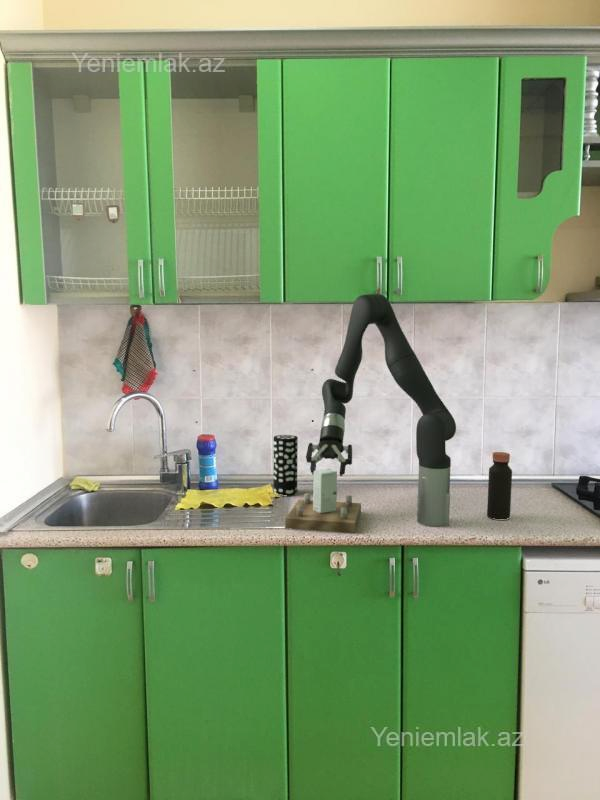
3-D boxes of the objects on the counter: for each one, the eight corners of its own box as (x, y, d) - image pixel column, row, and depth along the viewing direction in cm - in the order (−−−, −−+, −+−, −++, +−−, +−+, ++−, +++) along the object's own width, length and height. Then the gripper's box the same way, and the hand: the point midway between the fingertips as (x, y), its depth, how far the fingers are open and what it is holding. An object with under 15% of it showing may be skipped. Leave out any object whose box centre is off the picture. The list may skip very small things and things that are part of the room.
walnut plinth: (360, 512, 193) (361, 493, 193) (354, 533, 174) (354, 512, 173) (298, 508, 197) (298, 490, 196) (285, 528, 178) (285, 508, 177)
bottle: (488, 512, 194) (491, 450, 192) (511, 515, 191) (514, 452, 189) (485, 518, 188) (487, 454, 186) (508, 521, 185) (511, 456, 183)
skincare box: (320, 513, 182) (321, 473, 180) (312, 510, 185) (312, 470, 184) (337, 510, 185) (338, 471, 184) (328, 506, 189) (329, 468, 187)
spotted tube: (269, 495, 213) (269, 438, 211) (279, 489, 221) (279, 434, 218) (291, 497, 210) (292, 439, 207) (300, 491, 218) (301, 435, 215)
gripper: (309, 423, 196) (302, 466, 186) (354, 424, 194) (349, 468, 184) (312, 436, 202) (305, 479, 192) (355, 438, 199) (351, 481, 190)
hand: (327, 473), depth 188 cm, fingers open, 8 cm apart
